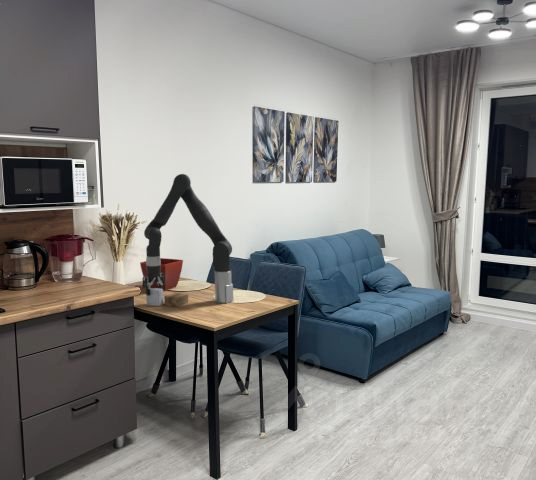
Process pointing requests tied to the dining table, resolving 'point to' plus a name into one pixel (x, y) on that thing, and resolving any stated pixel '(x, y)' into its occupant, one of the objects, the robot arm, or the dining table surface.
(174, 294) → the walnut block
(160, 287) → the robot arm
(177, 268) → the plant pot
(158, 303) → the medicine box
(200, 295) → the dining table surface
